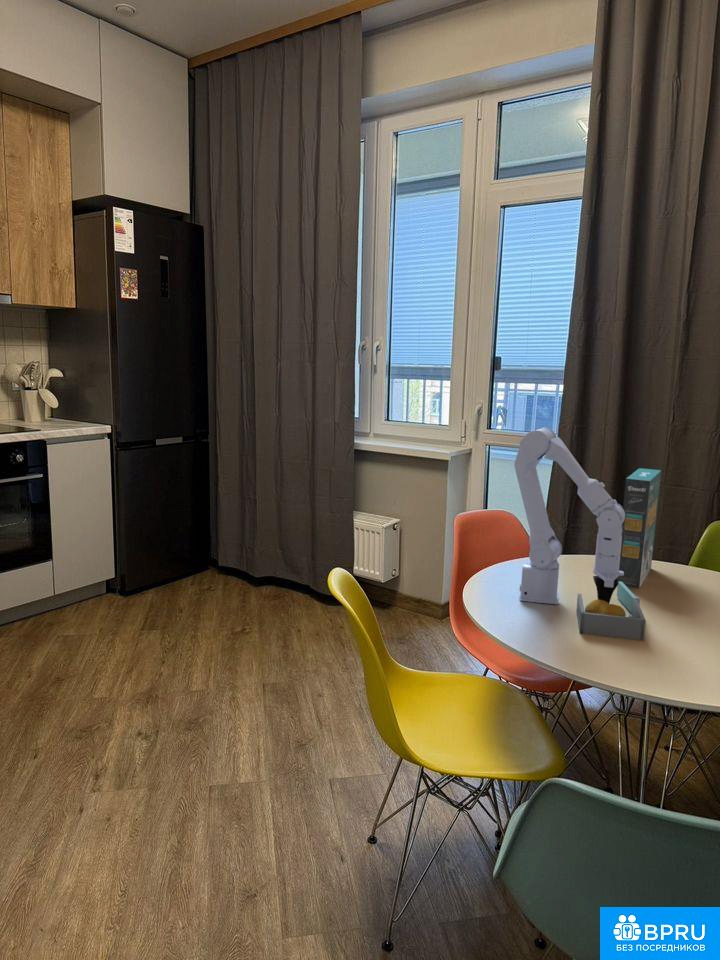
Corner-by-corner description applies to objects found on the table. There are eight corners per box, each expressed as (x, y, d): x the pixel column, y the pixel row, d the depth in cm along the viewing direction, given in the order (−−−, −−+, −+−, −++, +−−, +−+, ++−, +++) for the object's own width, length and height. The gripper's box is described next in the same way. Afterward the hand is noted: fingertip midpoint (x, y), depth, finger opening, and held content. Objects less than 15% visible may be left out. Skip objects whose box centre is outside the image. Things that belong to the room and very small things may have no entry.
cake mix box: (629, 565, 207) (639, 468, 202) (651, 568, 204) (661, 470, 198) (616, 584, 188) (626, 478, 183) (639, 588, 185) (650, 480, 180)
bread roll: (615, 627, 158) (617, 611, 157) (580, 616, 164) (581, 601, 163) (631, 618, 163) (633, 603, 162) (596, 608, 170) (597, 593, 169)
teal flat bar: (639, 616, 163) (641, 599, 163) (632, 616, 164) (634, 598, 163) (621, 596, 177) (623, 580, 176) (615, 596, 177) (617, 580, 177)
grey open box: (579, 633, 154) (581, 613, 153) (575, 608, 169) (577, 590, 168) (649, 641, 150) (651, 620, 149) (639, 615, 165) (641, 597, 164)
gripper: (629, 563, 158) (624, 618, 161) (621, 547, 172) (616, 597, 174) (597, 560, 160) (592, 615, 162) (592, 544, 174) (588, 595, 176)
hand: (603, 606), depth 168 cm, fingers closed
